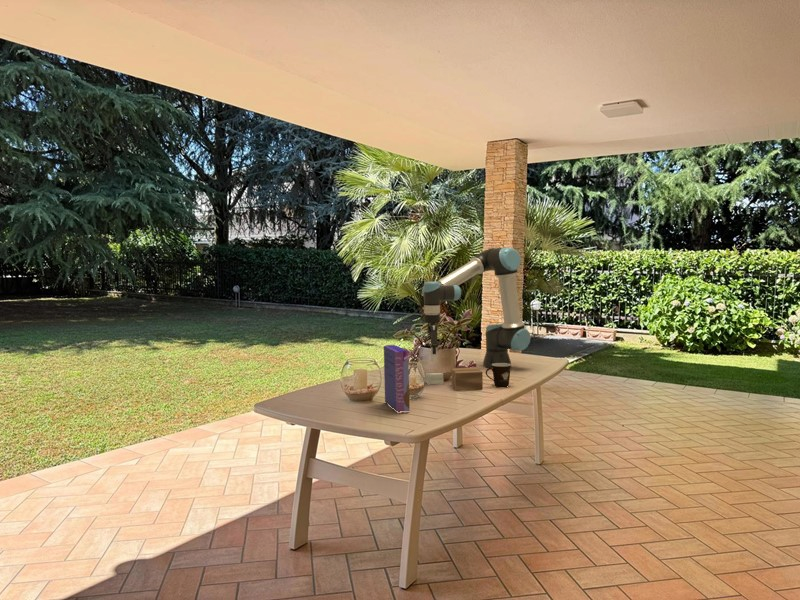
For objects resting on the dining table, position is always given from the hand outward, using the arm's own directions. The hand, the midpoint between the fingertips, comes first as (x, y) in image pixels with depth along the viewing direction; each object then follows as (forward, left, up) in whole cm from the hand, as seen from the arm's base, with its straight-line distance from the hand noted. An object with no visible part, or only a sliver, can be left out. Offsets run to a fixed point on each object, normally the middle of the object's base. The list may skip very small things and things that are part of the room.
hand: (432, 358), depth 265 cm
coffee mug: (+12, +29, -12) cm, 33 cm away
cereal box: (+43, -20, -12) cm, 49 cm away
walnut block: (+12, +14, -12) cm, 22 cm away
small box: (0, 0, -12) cm, 12 cm away
